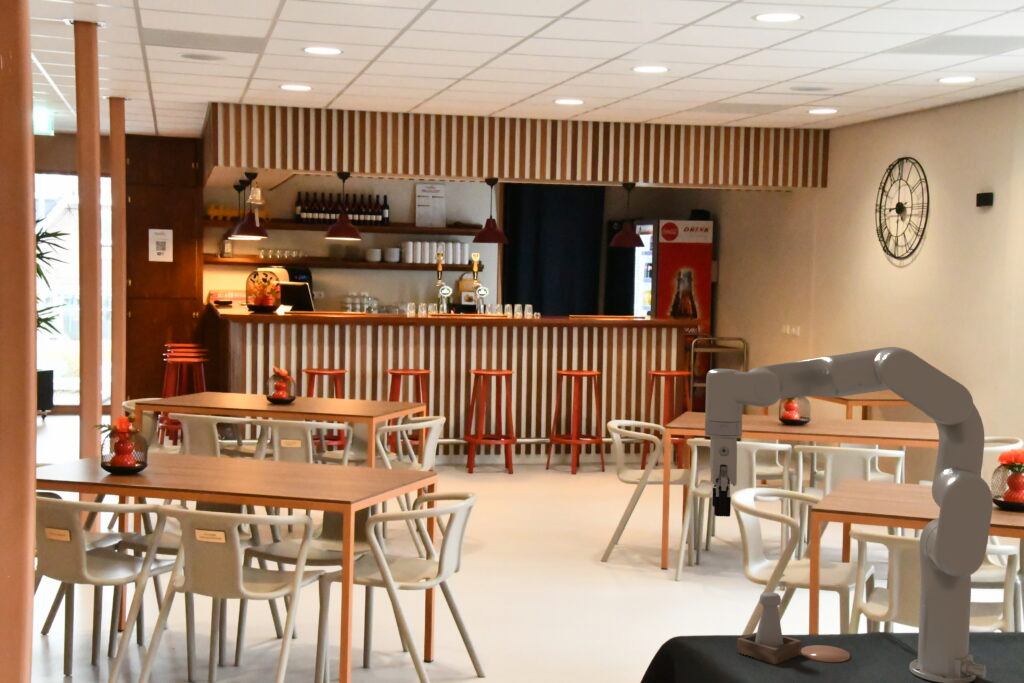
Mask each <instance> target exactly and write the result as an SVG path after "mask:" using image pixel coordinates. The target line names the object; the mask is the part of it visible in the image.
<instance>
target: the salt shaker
mask: <svg viewBox="0 0 1024 683" xmlns="http://www.w3.org/2000/svg"><path fill="white" fill-rule="evenodd" d="M781 600H782V598H781V595H779V593H776V592H775V591H774V592H773V591H765V592H762V593H761V594H760V596H759V602H760V604H761V605H762V609H761V614H760V617H759V621H758V622H759V623H758V627H757V630H756V632H757V635H756V639H755V642H756V643H759V644H763V645H766V646H769V647H773V648H775V647H777V646H780V645H783V638H782V635H783V633H782V627H781V626H782V625H781V621H780V620H781V619H780V612H779V606H780V605H781V603H782V601H781Z"/></svg>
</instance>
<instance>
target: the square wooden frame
mask: <svg viewBox="0 0 1024 683" xmlns="http://www.w3.org/2000/svg"><path fill="white" fill-rule="evenodd" d="M756 635H757V631H756V632H753V633H749V634H747V635H745V636H741V637H738V638H736V653H737V654H740V653H741V654H740V655H743V654H744V655H743V656H746V655H748V656H747V657H749V656H751V657H750V658H752V657H754V658H753V659H757V660H760V661H762V662H766V663H769V664H773V665H777V664H779V663H782V662H785V661H788V660H790V658H791V659H793V658H796V657H799V656H801V655H802V654H801V649H802V640H799V639H796V638H793V637H789V636H786V635H783V634H782V638H783V645H780V646H777V647H775V648H773V647H769V646H766V645H763V644H759V643H756V642H755V639H756ZM798 655H799V656H798ZM787 659H788V660H787Z"/></svg>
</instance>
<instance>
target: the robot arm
mask: <svg viewBox="0 0 1024 683" xmlns="http://www.w3.org/2000/svg"><path fill="white" fill-rule="evenodd" d="M889 390H890V391H891V392H893V393H894V394H895V395H897V396H898V397H900V398H902V399H903V401H905V402H908V403H909V404H910V405H912V406H913V407H915V408H916V409H918V410H919V411H921V412H922V413H924V415H925V416H927V417H929V418H930V419H932V420H934V423H935V424H936V427H937V431H938V449H937V456H936V462H935V463H936V464H935V469H934V470H935V471H934V476H933V481H932V485H931V494H932V495H931V496H932V499H933V500H934V503H935V504H936V505H937V506H938V508H939V515H938V517H937V518H935V519H932V520H931V521H929V522H927V524H926V525H925V526H924V527H923V529H922V531H921V533H920V537H919V559H920V560H919V562H920V595H919V614H918V615H919V617H918V618H919V620H918V644H917V645H918V646H917V659H914V660H911V662H909V671H910V672H911V673H912V674H913V675H915V676H917V677H919V678H921V679H924V680H927V681H930V682H936V683H971V682H973V681H975V680H976V677H978V678H982V679H985V678H986V677H987V673H988V672H987V666H986V665H985V664H984V665H983V664H981V663H976V662H975V661H974V654H970V653H969V651H970V649H969V647H970V623H971V619H970V618H971V600H972V598H971V597H972V576H971V575H973V574H975V573H976V572H977V571H978V570H979V569H980V568H981V566H982V565H983V562H984V561H985V556H986V552H987V548H988V540H989V535H990V528H991V523H992V517H993V506H994V502H993V501H994V500H993V495H992V490H991V487H990V486H989V485H988V483H987V482H986V480H984V478H982V468H983V460H984V452H985V426H984V423H983V420H982V417H981V416H980V415H981V414H980V412H979V410H978V409H977V407H976V405H975V403H974V398H973V395H972V394H971V392H970V391H969V389H968V388H967V387H966V386H965V385H963V384H961V383H960V382H958V381H957V380H955V379H953V378H952V377H951V376H949V375H947V374H946V373H945V372H943V371H941V370H939V369H938V368H937V367H935V366H933V365H932V364H931V363H929V362H927V361H926V360H924V359H922V357H920V356H918V355H917V354H915V353H914V352H912V351H910V350H909V349H905V348H902V347H897V346H891V347H890V346H888V347H880V348H873V349H867V350H866V349H865V350H862V351H861V350H860V351H853V352H847V353H842V354H835V355H833V354H832V355H828V356H821V357H816V358H811V359H804V360H797V361H790V362H783V363H777V364H769V365H763V366H758V367H754V368H752V369H749V371H740V370H737V369H732V368H714V369H713V368H712V369H710V370H709V371H708V372H707V373H706V378H705V407H704V408H705V411H704V412H705V415H704V417H705V418H704V436H705V437H708V438H710V445H709V446H710V447H709V448H710V449H709V450H710V451H709V455H710V456H709V461H710V462H709V463H710V465H709V466H710V476H711V477H710V478H711V482H712V484H713V487H712V500H711V501H712V503H711V504H712V505H711V506H712V507H714V510H713V511H714V512H713V514H714V516H715V517H726V518H727V517H731V507H732V505H731V503H732V502H731V501H732V497H731V485H732V486H733V487H736V486H737V484H738V482H737V479H738V478H737V477H738V476H737V475H738V473H737V472H738V470H737V468H738V465H737V464H738V443H737V439H740V438H742V437H743V436H742V435H743V408H744V406H743V405H747V406H753V407H756V408H757V407H758V408H768V407H771V406H774V405H776V404H777V403H778V402H779V401H780V400H784V399H790V398H791V399H792V398H798V397H800V398H801V397H819V398H827V399H829V398H842V397H848V396H853V395H860V394H861V395H862V394H868V393H874V392H881V391H889Z"/></svg>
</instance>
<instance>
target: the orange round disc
mask: <svg viewBox="0 0 1024 683" xmlns="http://www.w3.org/2000/svg"><path fill="white" fill-rule="evenodd" d="M801 653H802V654H801V655H802V656H803V657H805V658H807V659H809V660H813V661H817V662H821V663H822V662H824V663H842V662H846V661H848V660H850V658H851V654H850V652H849V651H847V650H845V649H843V648H841V647H836V646H831V645H821V644H819V645H818V644H816V645H815V644H813V645H807V646H804V647H801Z"/></svg>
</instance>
